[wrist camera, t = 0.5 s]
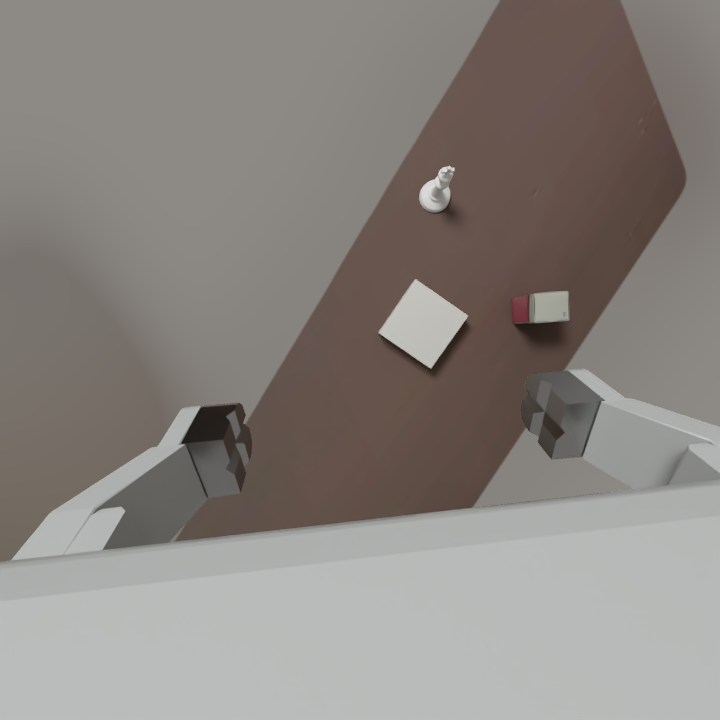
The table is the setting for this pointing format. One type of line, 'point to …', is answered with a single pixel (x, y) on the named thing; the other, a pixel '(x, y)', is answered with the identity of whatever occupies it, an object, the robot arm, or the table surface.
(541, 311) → the small box
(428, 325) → the off-white block
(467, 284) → the table surface
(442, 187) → the chess piece
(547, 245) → the table surface
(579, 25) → the table surface
